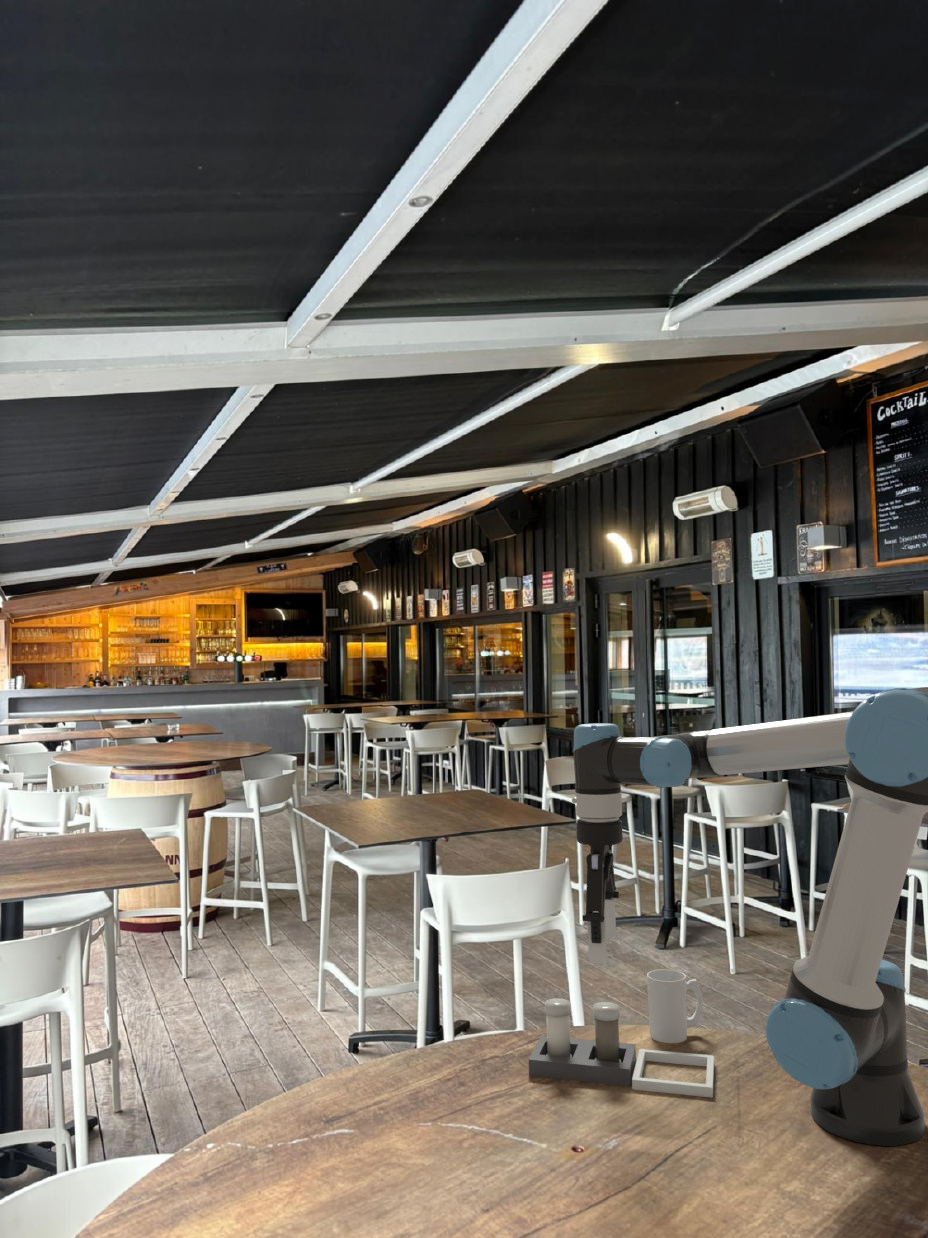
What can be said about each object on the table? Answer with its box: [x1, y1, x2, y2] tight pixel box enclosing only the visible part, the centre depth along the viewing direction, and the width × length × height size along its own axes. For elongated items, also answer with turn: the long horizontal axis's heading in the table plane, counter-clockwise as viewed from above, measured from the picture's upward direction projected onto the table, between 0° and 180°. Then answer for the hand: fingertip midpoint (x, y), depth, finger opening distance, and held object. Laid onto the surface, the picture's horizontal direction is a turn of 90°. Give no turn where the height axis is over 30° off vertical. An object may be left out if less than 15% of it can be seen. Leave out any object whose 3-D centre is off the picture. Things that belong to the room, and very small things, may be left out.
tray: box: [631, 1048, 715, 1098], centre depth 146 cm, size 12×12×3 cm
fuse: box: [544, 997, 572, 1058], centre depth 151 cm, size 4×4×10 cm
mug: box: [646, 968, 704, 1044], centre depth 163 cm, size 10×7×12 cm, turn 99°
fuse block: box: [528, 1035, 637, 1087], centre depth 150 cm, size 16×10×4 cm, turn 74°
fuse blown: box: [592, 1001, 621, 1062], centre depth 149 cm, size 4×4×10 cm
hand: (603, 950), depth 150 cm, fingers open, 13 cm apart
